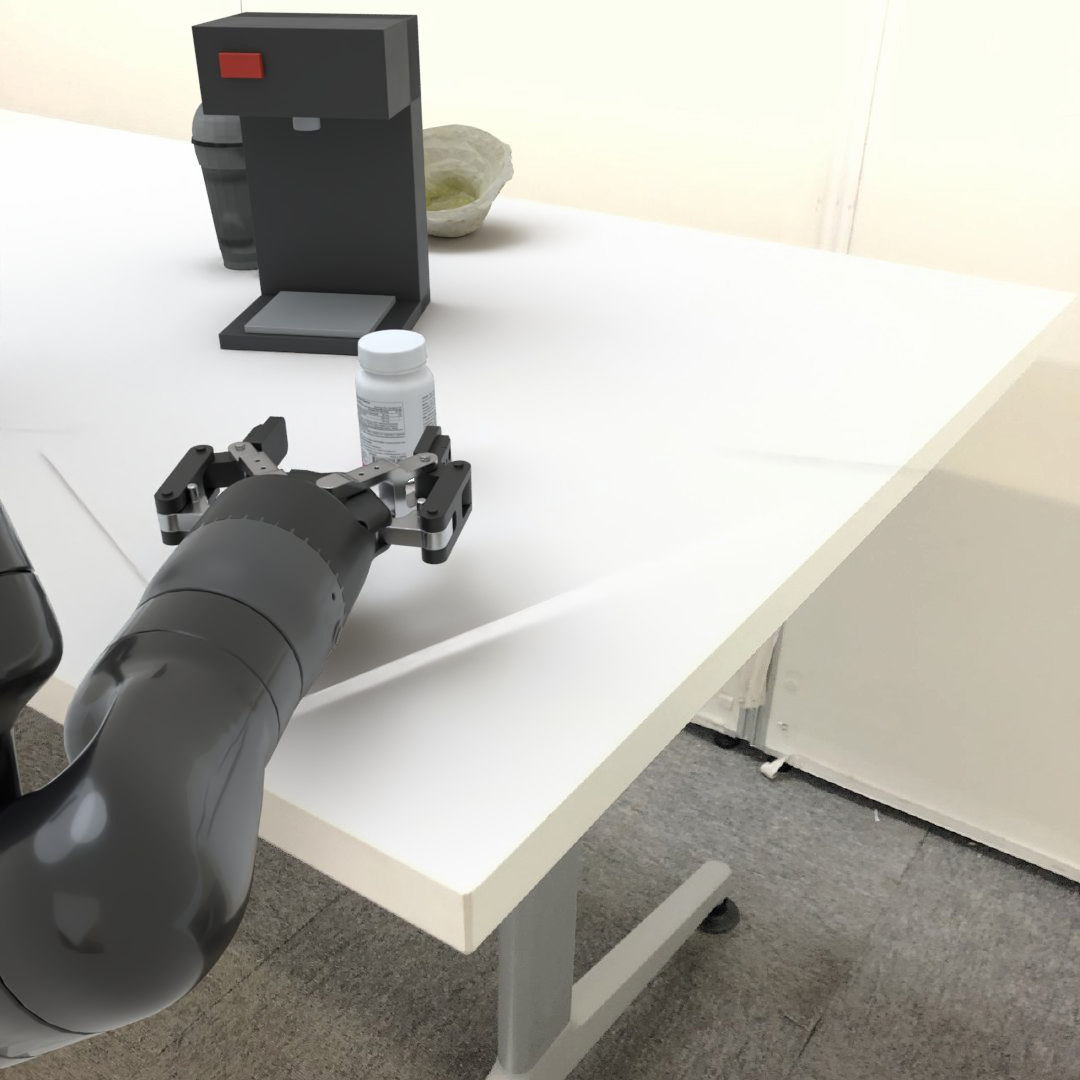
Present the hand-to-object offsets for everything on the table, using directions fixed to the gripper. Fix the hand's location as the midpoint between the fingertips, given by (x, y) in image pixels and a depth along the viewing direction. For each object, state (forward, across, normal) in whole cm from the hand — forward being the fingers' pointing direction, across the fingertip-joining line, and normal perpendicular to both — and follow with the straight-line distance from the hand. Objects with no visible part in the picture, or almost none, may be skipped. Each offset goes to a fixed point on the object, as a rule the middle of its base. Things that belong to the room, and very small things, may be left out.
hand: (357, 436), depth 60 cm
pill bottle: (+8, 0, +6) cm, 10 cm away
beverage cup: (+50, +25, +6) cm, 57 cm away
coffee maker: (+34, +12, +6) cm, 37 cm away
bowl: (+63, +8, +6) cm, 64 cm away
